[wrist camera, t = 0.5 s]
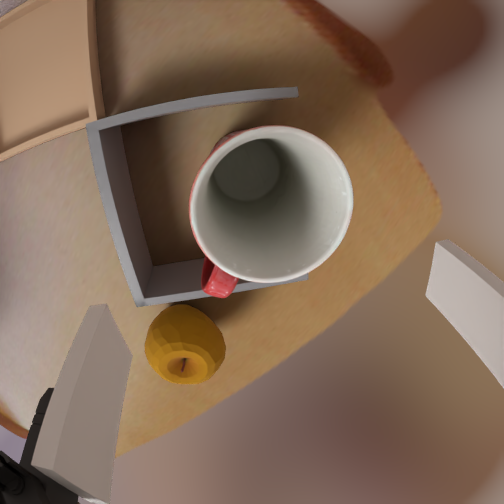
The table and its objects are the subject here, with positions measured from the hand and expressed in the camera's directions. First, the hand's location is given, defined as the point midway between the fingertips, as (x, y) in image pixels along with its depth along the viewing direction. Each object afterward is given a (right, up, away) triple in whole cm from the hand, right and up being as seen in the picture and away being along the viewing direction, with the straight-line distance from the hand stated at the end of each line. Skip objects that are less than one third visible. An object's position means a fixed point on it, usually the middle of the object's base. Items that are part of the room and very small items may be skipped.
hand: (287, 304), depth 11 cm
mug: (-3, +9, +17) cm, 20 cm away
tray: (-23, +20, +8) cm, 31 cm away
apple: (-9, -6, +24) cm, 26 cm away
